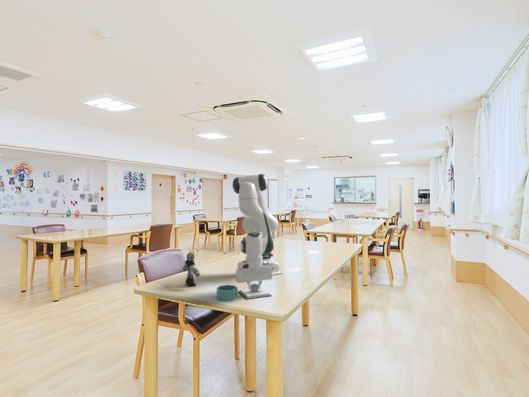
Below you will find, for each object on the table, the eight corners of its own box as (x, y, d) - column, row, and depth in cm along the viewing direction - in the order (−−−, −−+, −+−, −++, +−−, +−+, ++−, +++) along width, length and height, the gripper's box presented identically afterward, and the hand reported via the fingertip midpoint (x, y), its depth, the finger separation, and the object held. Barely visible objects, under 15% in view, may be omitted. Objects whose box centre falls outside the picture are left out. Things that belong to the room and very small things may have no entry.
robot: (180, 282, 185) (179, 249, 185) (187, 281, 188) (187, 248, 188) (194, 289, 170) (194, 254, 170) (202, 288, 173) (201, 253, 173)
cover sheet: (260, 288, 170) (260, 280, 170) (269, 295, 159) (269, 286, 159) (240, 291, 165) (240, 283, 165) (247, 298, 154) (247, 289, 154)
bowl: (233, 293, 163) (233, 284, 163) (239, 299, 154) (239, 289, 154) (215, 295, 159) (215, 286, 159) (219, 301, 150) (219, 291, 150)
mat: (261, 288, 171) (261, 288, 171) (271, 296, 158) (271, 295, 158) (238, 291, 166) (238, 291, 166) (246, 299, 153) (246, 298, 153)
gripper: (269, 260, 169) (270, 285, 169) (234, 263, 161) (234, 289, 161) (274, 262, 163) (274, 288, 163) (237, 266, 155) (238, 293, 155)
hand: (254, 289), depth 162 cm, fingers closed on cover sheet, 3 cm apart
